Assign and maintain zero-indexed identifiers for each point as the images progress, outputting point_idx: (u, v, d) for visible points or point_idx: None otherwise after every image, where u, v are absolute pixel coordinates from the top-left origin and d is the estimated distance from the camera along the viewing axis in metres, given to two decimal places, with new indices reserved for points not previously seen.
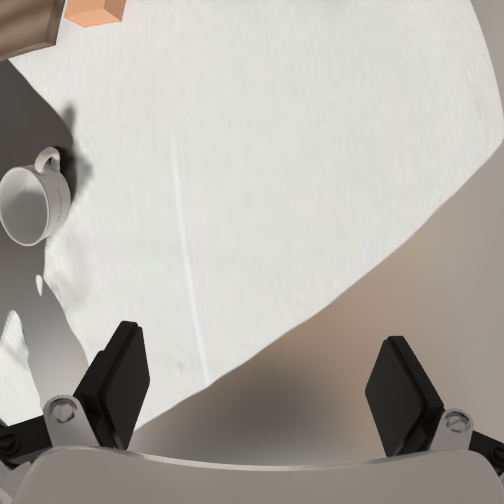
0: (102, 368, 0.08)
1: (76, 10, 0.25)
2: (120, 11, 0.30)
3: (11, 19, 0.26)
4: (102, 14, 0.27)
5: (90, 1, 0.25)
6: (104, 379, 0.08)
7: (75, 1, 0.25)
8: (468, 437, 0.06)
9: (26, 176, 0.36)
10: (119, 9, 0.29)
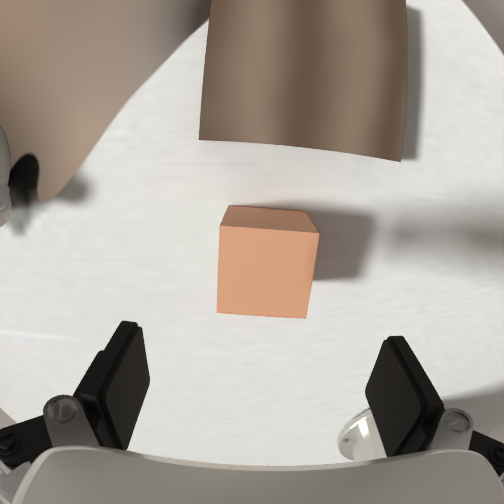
0: (102, 368, 0.08)
1: (227, 256, 0.20)
2: None
3: (301, 25, 0.17)
4: None
5: (241, 284, 0.20)
6: (104, 379, 0.08)
7: (254, 249, 0.19)
8: (469, 437, 0.06)
9: None
10: None
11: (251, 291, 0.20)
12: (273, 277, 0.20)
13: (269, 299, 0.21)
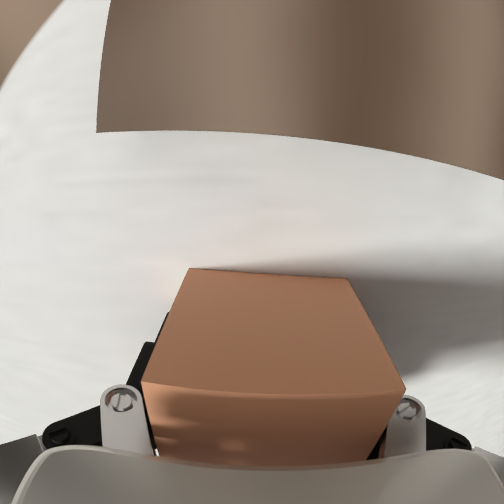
0: None
1: (173, 435, 0.07)
2: None
3: None
4: None
5: None
6: None
7: (237, 428, 0.07)
8: (423, 421, 0.07)
9: None
10: None
11: None
12: (284, 464, 0.07)
13: None
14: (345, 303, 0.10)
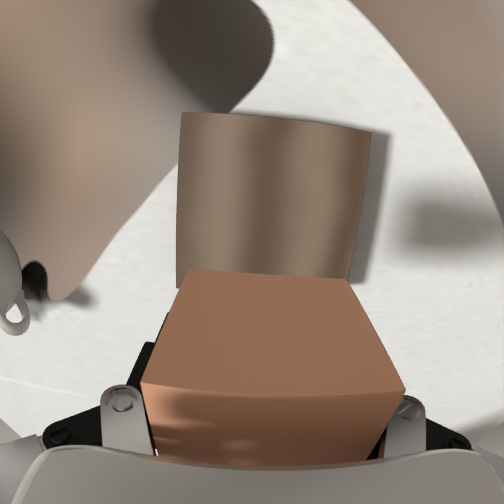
0: None
1: (172, 436, 0.07)
2: None
3: (260, 187, 0.23)
4: None
5: None
6: None
7: (236, 429, 0.07)
8: (423, 421, 0.07)
9: None
10: None
11: None
12: (283, 464, 0.07)
13: None
14: (345, 304, 0.10)
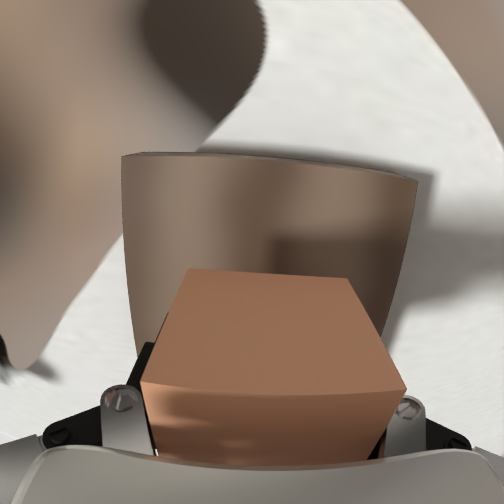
0: None
1: (173, 436, 0.07)
2: None
3: (247, 271, 0.15)
4: None
5: None
6: None
7: (236, 429, 0.07)
8: (423, 421, 0.07)
9: None
10: None
11: None
12: (283, 464, 0.07)
13: None
14: (345, 303, 0.10)
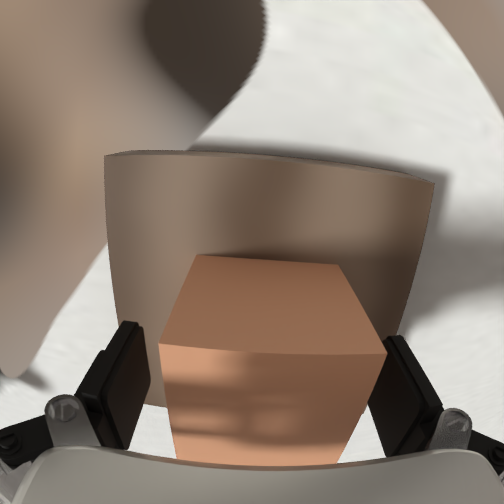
0: (103, 368, 0.08)
1: (183, 397, 0.08)
2: None
3: None
4: None
5: (218, 435, 0.09)
6: (105, 378, 0.08)
7: (240, 388, 0.08)
8: (467, 437, 0.06)
9: None
10: None
11: (236, 443, 0.09)
12: (281, 427, 0.09)
13: (272, 452, 0.09)
14: (335, 284, 0.11)
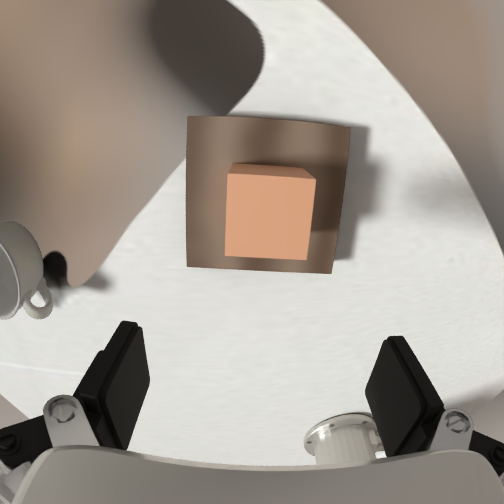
0: (102, 368, 0.08)
1: (234, 201, 0.22)
2: None
3: None
4: None
5: (247, 228, 0.22)
6: (104, 379, 0.08)
7: (258, 194, 0.21)
8: (469, 437, 0.06)
9: None
10: None
11: (256, 234, 0.22)
12: (276, 220, 0.22)
13: (273, 241, 0.23)
14: (299, 170, 0.25)
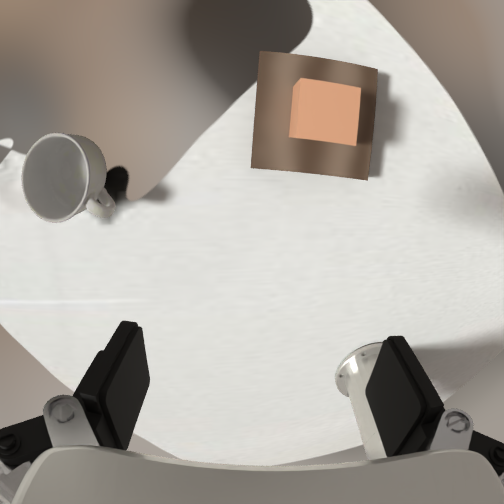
0: (102, 368, 0.08)
1: (305, 97, 0.27)
2: None
3: None
4: (294, 127, 0.30)
5: (313, 117, 0.28)
6: (104, 379, 0.08)
7: (322, 93, 0.27)
8: (468, 437, 0.06)
9: None
10: None
11: (319, 122, 0.28)
12: (334, 113, 0.27)
13: (332, 128, 0.28)
14: None
